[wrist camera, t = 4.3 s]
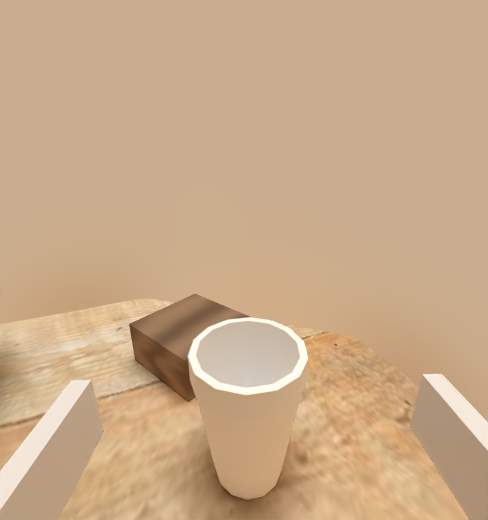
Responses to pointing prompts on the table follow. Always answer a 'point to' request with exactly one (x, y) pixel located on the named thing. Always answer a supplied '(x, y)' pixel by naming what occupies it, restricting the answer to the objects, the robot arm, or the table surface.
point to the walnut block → (175, 338)
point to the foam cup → (248, 398)
